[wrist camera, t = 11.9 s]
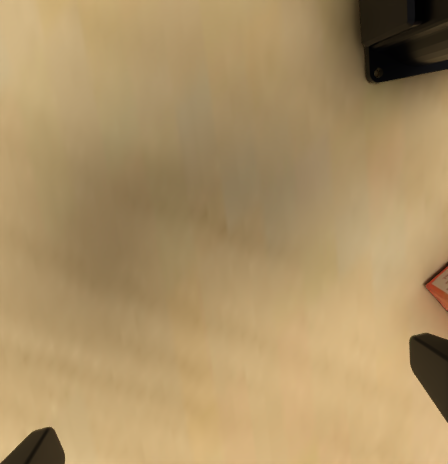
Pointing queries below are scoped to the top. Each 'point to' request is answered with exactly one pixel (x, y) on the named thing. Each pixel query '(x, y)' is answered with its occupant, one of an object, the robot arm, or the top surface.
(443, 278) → the cracker box
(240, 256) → the top surface
